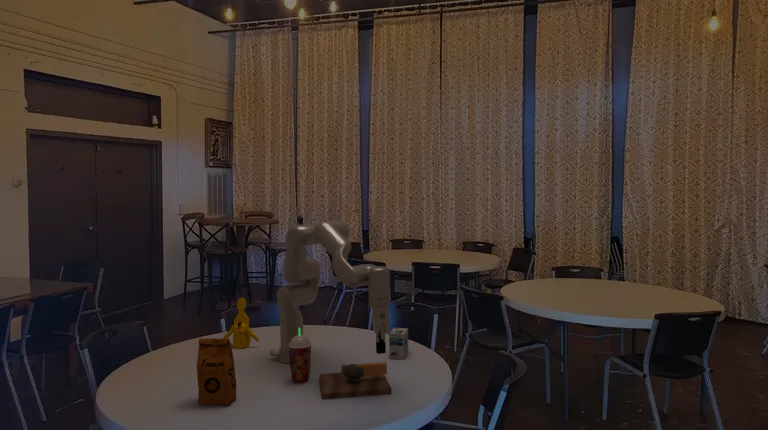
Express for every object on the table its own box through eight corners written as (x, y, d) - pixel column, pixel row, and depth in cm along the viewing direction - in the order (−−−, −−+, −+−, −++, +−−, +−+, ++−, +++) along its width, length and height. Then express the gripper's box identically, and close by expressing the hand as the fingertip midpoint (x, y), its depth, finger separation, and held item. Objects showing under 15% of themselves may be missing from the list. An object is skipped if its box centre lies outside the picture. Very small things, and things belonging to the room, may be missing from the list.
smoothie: (315, 377, 208) (314, 326, 207) (305, 385, 200) (304, 331, 199) (296, 375, 211) (294, 324, 210) (285, 383, 203) (283, 329, 202)
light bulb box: (404, 359, 228) (404, 334, 227) (389, 359, 229) (388, 333, 229) (408, 352, 238) (408, 327, 238) (393, 351, 240) (393, 327, 239)
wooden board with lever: (322, 399, 187) (321, 385, 187) (319, 378, 207) (319, 365, 207) (391, 393, 191) (391, 379, 190) (381, 373, 211) (381, 361, 211)
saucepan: (345, 379, 194) (344, 369, 194) (343, 372, 201) (343, 363, 201) (388, 376, 197) (387, 366, 197) (384, 369, 204) (384, 360, 204)
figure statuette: (219, 349, 247) (217, 301, 245) (224, 344, 254) (223, 297, 253) (258, 349, 246) (257, 300, 245) (262, 344, 254) (261, 297, 253)
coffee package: (229, 408, 180) (227, 342, 179) (193, 407, 182) (191, 341, 181) (241, 397, 190) (239, 334, 189) (207, 395, 192) (205, 333, 191)
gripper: (393, 305, 187) (395, 358, 187) (386, 297, 201) (387, 346, 202) (372, 306, 185) (373, 360, 186) (366, 298, 200) (367, 348, 201)
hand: (381, 352), depth 194 cm, fingers closed
